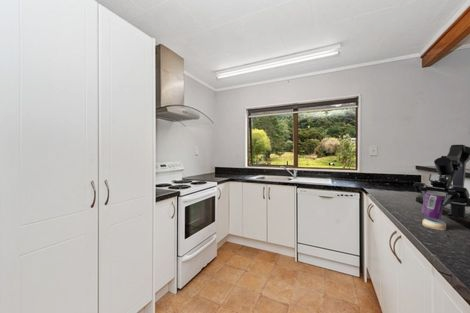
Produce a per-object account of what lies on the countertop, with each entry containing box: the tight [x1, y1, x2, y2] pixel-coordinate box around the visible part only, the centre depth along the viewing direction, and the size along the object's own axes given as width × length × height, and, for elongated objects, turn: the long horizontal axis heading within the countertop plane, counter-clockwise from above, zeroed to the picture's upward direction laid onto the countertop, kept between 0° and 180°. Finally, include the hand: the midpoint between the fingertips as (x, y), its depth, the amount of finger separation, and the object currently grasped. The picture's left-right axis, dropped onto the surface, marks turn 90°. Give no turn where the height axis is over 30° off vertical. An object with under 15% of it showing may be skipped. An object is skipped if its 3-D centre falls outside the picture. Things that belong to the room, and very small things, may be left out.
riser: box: [422, 217, 447, 231], centre depth 95 cm, size 8×8×3 cm
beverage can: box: [420, 191, 446, 220], centre depth 96 cm, size 7×7×12 cm
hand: (433, 203), depth 95 cm, fingers closed on beverage can, 7 cm apart
